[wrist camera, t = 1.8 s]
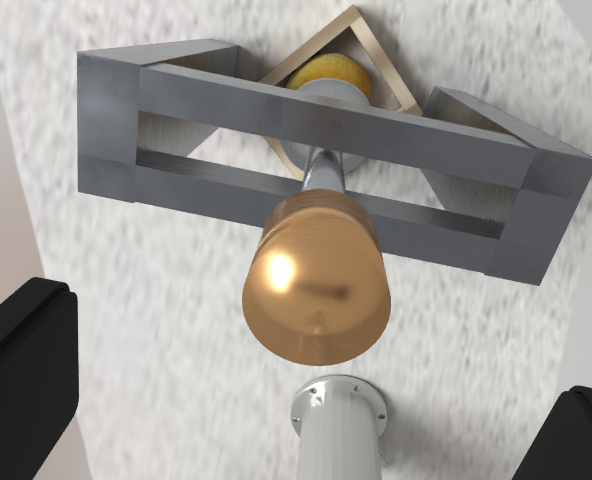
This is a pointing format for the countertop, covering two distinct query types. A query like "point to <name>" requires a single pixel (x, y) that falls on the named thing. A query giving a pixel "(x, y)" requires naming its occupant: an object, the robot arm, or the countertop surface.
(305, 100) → the frame
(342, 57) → the bread roll
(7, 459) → the robot arm
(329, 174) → the plunger
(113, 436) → the countertop surface
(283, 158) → the cradle
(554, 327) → the countertop surface
